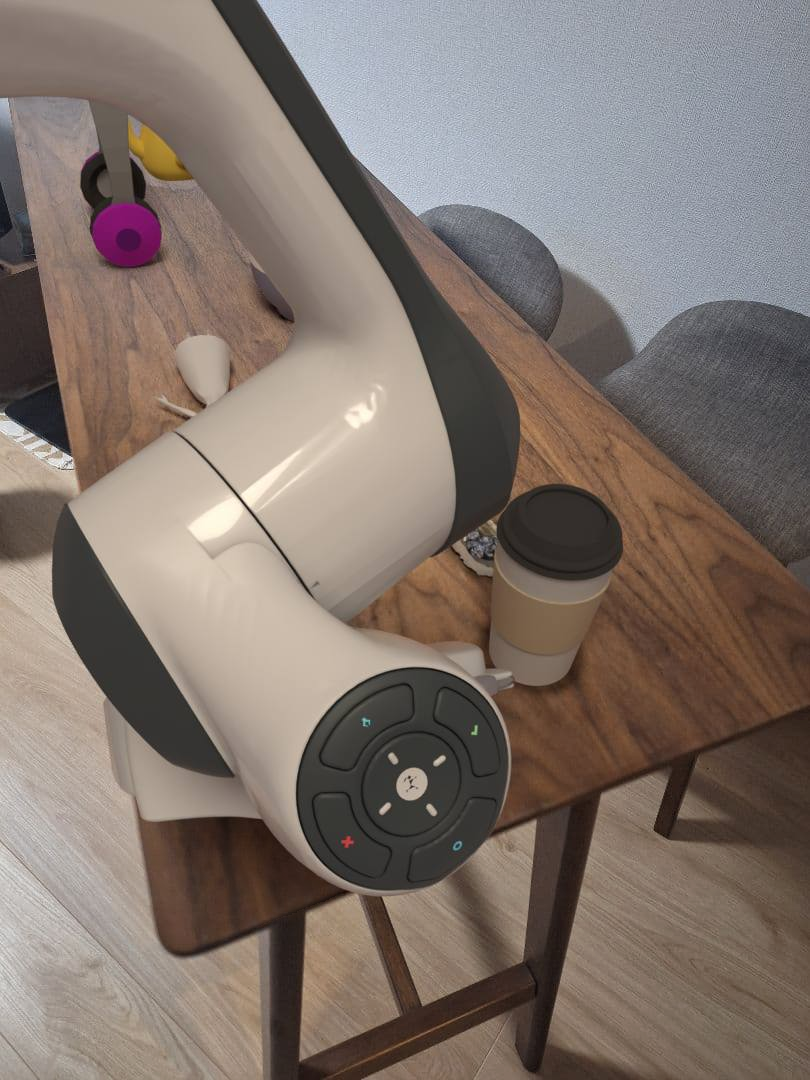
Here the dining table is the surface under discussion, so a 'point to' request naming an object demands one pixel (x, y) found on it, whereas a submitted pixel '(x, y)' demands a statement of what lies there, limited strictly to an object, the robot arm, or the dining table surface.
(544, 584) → the coffee cup
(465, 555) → the blueberries
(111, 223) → the headphones
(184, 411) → the woman figurine
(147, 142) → the teapot
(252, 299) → the dining table surface
